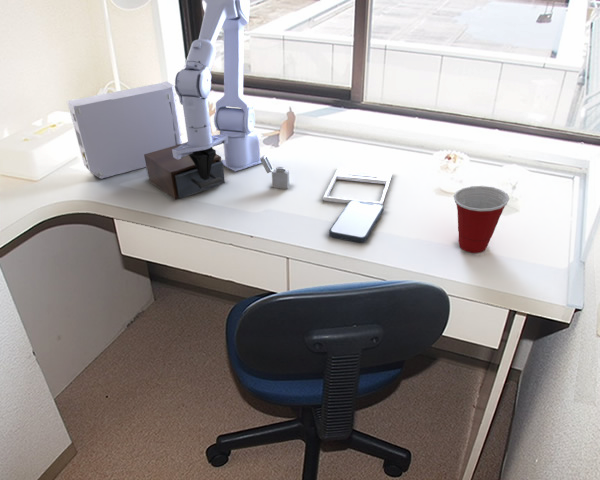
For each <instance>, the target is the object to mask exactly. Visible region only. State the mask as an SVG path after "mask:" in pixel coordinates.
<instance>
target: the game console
mask: <svg viewBox="0 0 600 480" xmlns="http://www.w3.org/2000/svg"><path fill="white" fill-rule="evenodd" d="M66 104H67V107H68V110H69V113H70V117H71V121H72V122H71V123H72V125H73V129H74V132H75V137H76V140H77V143H78V147H79V151H80V155H81V158H82V162H83V166H84V168H86V169H87V170H88V171H89V172H90V174H92V175H94V176H95V177H97V178H99V179H104V178H109V177H112V176H117V175H120V174H121V175H122V174H125V173H128V172H132V171H135V170H140V169H144V168H147V167H146V162H145V157H144V154H148V153H151V152H155V151H158V150H162V149H165V148H169V147H172V146H176V145H179V144H183V141H182V133H181V126H180V125H181V124H180V118H179V113H178V105H177V99H176V91H175V84H173V83H170V82H169V81H162V82H158V83H154V84H149V85H142V86H138V87H132V88H127V89H123V90H116V91H111V92H107V93H102V94H96V95H91V96H86V97H81V98H76V99H70V100H66Z"/></svg>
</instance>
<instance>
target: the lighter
mask: <svg viewBox="0 0 600 480" xmlns="http://www.w3.org/2000/svg"><path fill="white" fill-rule="evenodd" d="M260 160H261V162H262V163H261V164H262V166H263V168H264V170H265V172H266V174H270V173H271V182H272V188H275V189H281V190H283V189H284V190H288V189H289V188H290V171H289V170H286V168H285V167H284V166H276V168H274V167H273V165H272V163H271V161H270V159H269V157H268V155H267V154H265V155H262V156H260Z"/></svg>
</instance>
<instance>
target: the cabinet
mask: <svg viewBox="0 0 600 480" xmlns="http://www.w3.org/2000/svg"><path fill="white" fill-rule="evenodd" d="M185 143H186V142H182V144H179V145H176V146H172V147H169V148H165V149H162V150H158V151H155V152H151V153H148V154H144V157H145V162H146V167H145V168H146V173H147V177H148V181H149V182H150V183H151V184H153V185H154V186H155V187H157V188H158V189H160V190H161V191H162V192H164V193H165V194H167V195H168V196H169V197H171V198H172V199H174V200H179V199H180V198H179V197H178V193H177V192H176V186H175V180H174V174H175V173H179V172H182V171H185V170H188V169H191V168H194V167H196V166H195V164H194V162H193V161H192V159H191V158H190V156H189V155H186V156H183V157H181V159H178V160H177V159H175V158H174V157H173V153H172V149H175V148H177V147H179V146H181V145H183V144H185ZM214 161H216V162H219V161H222V156H221V155H219V154H218V153H216V155H215V157H214V159H213V162H214Z"/></svg>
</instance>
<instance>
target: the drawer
mask: <svg viewBox="0 0 600 480" xmlns="http://www.w3.org/2000/svg"><path fill="white" fill-rule="evenodd" d="M221 161H222V160H221ZM221 161H219V162H216V161H214V162H212V165H211V170H210V178H209V179H207V180H203V179H202V178H200V175H199V172H198V170H197V168H196V167H194V168H191V169H188V170H185V171H182V172H179V173H175V174H174V180H175V186H176V192H177V193H178V197H179V199H182V198H185V197H189V196H191V195H194V194H197V193H200V192H203V191H206V190H209V189H211V188H214V187H218V186H220V185H221V186H222V185H223V184H226V179H225V170H224V166H223V162H221Z"/></svg>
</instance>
